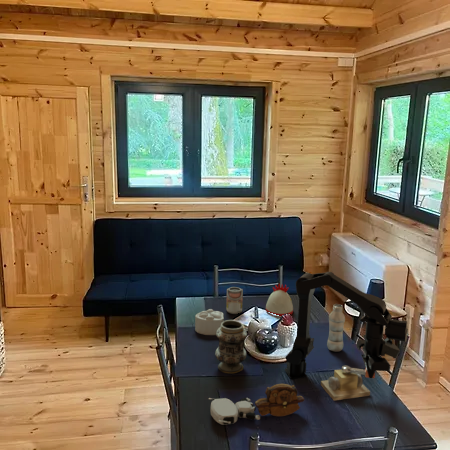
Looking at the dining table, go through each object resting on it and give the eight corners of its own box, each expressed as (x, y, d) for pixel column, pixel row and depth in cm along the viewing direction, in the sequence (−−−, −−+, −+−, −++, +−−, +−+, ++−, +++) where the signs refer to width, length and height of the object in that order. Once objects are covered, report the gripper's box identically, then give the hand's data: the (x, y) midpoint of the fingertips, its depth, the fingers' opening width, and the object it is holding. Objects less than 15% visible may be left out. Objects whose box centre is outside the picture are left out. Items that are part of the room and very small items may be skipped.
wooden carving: (258, 423, 139) (259, 394, 137) (253, 414, 143) (254, 386, 141) (305, 414, 144) (307, 387, 142) (299, 406, 148) (301, 379, 146)
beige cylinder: (242, 315, 220) (243, 292, 218) (225, 315, 220) (226, 292, 218) (242, 308, 229) (242, 286, 227) (226, 308, 229) (226, 286, 227)
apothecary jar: (252, 367, 172) (253, 324, 168) (231, 379, 163) (232, 334, 160) (229, 356, 180) (230, 315, 176) (208, 367, 171) (209, 324, 168)
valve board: (333, 400, 151) (335, 383, 150) (320, 384, 161) (321, 368, 160) (369, 395, 155) (371, 378, 154) (354, 380, 164) (356, 363, 163)
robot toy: (248, 404, 150) (205, 408, 145) (249, 392, 149) (207, 396, 145) (261, 427, 138) (215, 432, 134) (263, 414, 138) (217, 419, 133)
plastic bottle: (343, 354, 183) (347, 309, 179) (326, 352, 185) (329, 307, 181) (342, 347, 190) (346, 303, 185) (326, 345, 191) (329, 302, 187)
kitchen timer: (290, 318, 218) (292, 289, 215) (263, 314, 222) (264, 286, 219) (294, 308, 232) (295, 280, 228) (268, 304, 235) (269, 278, 232)
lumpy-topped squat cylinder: (223, 335, 199) (223, 317, 197) (194, 334, 198) (194, 317, 197) (223, 325, 209) (223, 308, 207) (195, 325, 209) (195, 307, 207)
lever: (373, 374, 156) (374, 367, 156) (374, 378, 153) (375, 372, 153) (341, 370, 158) (341, 364, 158) (341, 374, 155) (342, 368, 155)
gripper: (408, 347, 141) (404, 392, 143) (388, 325, 159) (385, 366, 162) (373, 346, 141) (369, 391, 143) (357, 324, 159) (354, 364, 162)
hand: (370, 377), depth 153 cm, fingers closed
